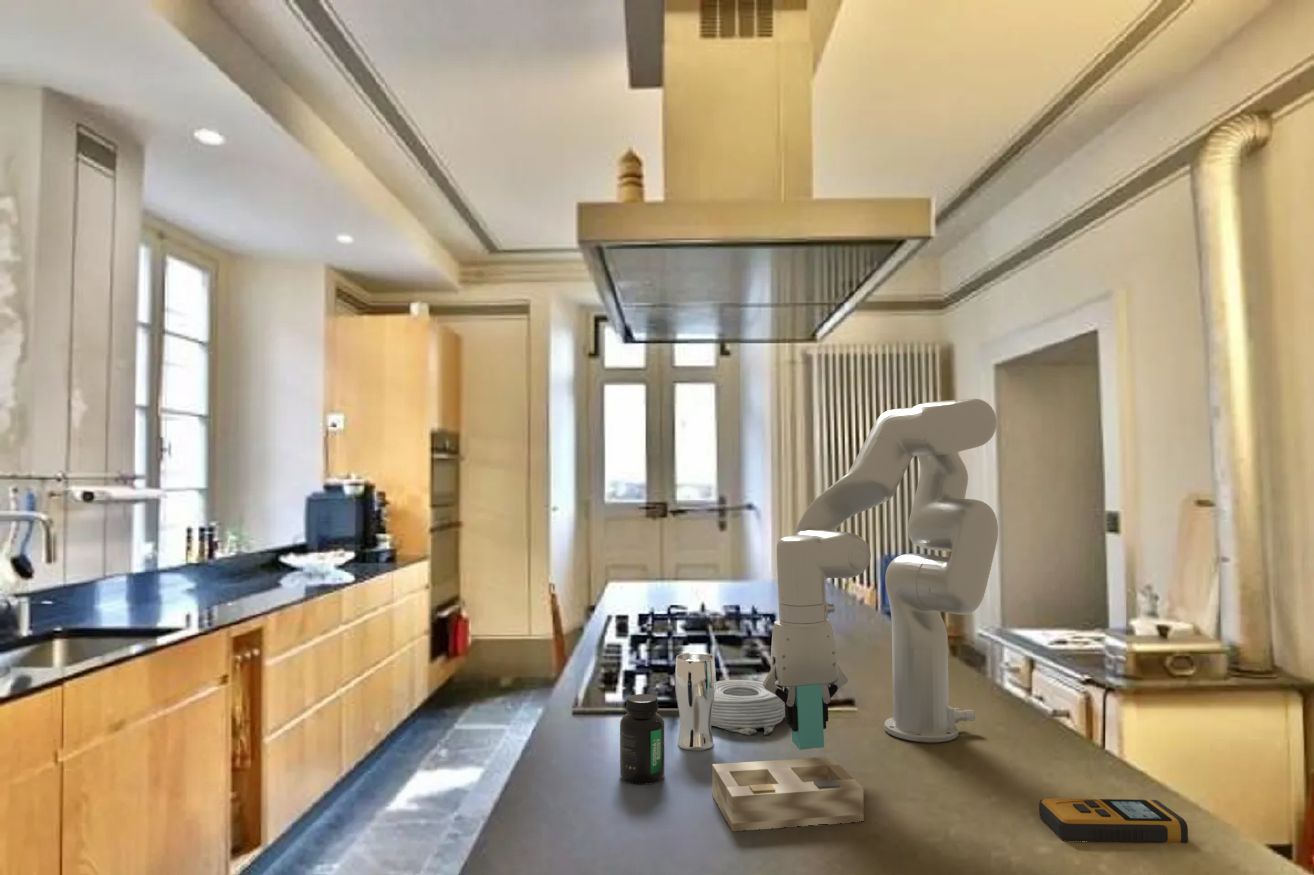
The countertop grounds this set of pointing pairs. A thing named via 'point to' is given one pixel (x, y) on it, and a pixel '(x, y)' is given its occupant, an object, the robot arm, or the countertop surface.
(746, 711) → the cable
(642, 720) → the supplement bottle
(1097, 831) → the electronic device
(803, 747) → the plug
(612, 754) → the countertop surface
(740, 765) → the socket block
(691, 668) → the beer glass
